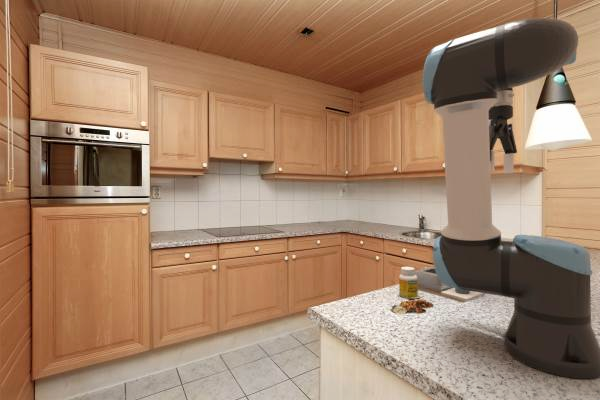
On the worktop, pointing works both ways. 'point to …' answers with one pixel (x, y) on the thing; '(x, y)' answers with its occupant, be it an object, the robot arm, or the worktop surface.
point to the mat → (465, 297)
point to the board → (441, 294)
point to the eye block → (430, 280)
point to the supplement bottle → (408, 283)
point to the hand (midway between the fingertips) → (499, 172)
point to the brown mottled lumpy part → (412, 306)
